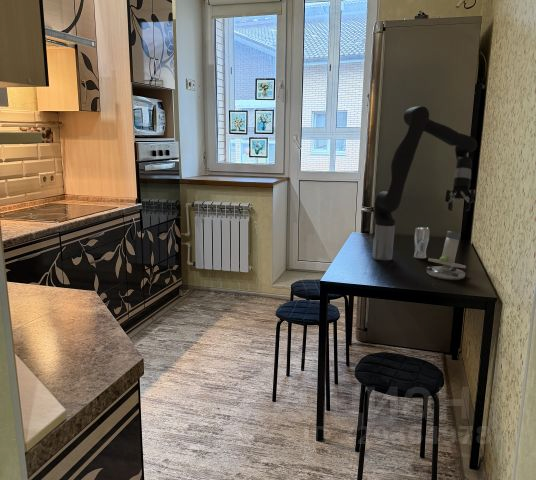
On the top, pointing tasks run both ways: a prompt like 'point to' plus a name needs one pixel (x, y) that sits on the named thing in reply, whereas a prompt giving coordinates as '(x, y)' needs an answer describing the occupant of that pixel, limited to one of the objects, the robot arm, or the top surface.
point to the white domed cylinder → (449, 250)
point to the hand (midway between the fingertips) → (458, 210)
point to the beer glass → (421, 242)
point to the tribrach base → (446, 272)
